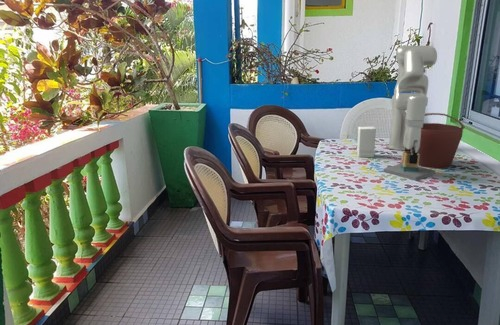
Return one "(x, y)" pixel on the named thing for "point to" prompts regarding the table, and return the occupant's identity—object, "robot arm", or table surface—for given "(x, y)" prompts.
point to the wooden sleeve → (405, 162)
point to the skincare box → (366, 141)
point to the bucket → (439, 143)
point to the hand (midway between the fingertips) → (410, 160)
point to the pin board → (407, 174)
